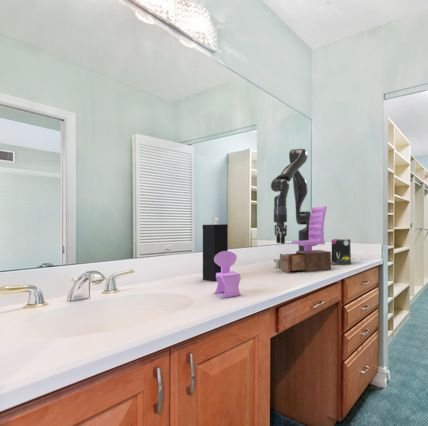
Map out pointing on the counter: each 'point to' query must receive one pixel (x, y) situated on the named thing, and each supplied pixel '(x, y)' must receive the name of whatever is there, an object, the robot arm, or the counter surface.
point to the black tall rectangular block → (213, 248)
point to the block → (278, 264)
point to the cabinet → (316, 260)
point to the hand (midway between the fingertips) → (280, 243)
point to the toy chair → (227, 274)
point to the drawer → (291, 262)
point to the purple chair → (314, 229)
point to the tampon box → (341, 251)
